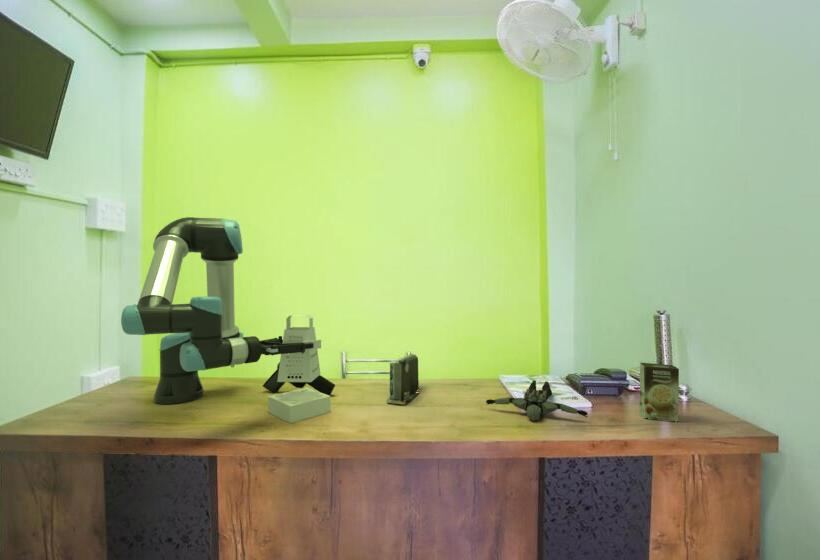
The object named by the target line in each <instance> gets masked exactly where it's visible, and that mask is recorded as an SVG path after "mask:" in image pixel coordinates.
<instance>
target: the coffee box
mask: <svg viewBox="0 0 820 560" xmlns="http://www.w3.org/2000/svg"><path fill="white" fill-rule="evenodd" d="M639 364H640V365H639V399H638V400H639V401H638V402H639V403H638V404H639V406H638V408H639V409H638V410H639V411H638V412H640V413H639V414H640V415H641V416H642V418H643V419H645V418H648V419H647V420H652V419H657V420H656V421H661V420H665V421H664V422H669V421H678V422H679V389H680V388H679V386H680V384H679V383H680V381H679V379H680V376H679V375H680V369H679V368H678V367H676V366H675V365H673V364H664V363H663V364H662V363H652V362H651V363H650V362H639Z"/></svg>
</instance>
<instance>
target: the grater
mask: <svg viewBox="0 0 820 560" xmlns="http://www.w3.org/2000/svg"><path fill="white" fill-rule="evenodd" d="M294 316H299V317H307V318H308V321H309V323H308V324H309V325H308V326H301V327H300V326H297V327H296V326H291V319H292V317H294ZM285 321H286V328H285V329H283V336H282V340H283V343H287V342H288V341H289V343H291V341H293V343H301V342H304V341H312V340H317V337H316V329H315V326H314V317H313V316H312V315H311V314H290V315H288V317H286V320H285ZM291 337H292V338H291ZM279 359H280V360H279V362H280V365H279V373H278V380H277V382H285V383H289V382H312V381H313V380H314V379H315V378H317V377H318V376H319V375H321V367H320V361H319V352H318V349H313V350H306V351H305V352H304V354H302V352H300V353H288V354H280V358H279ZM290 374H291V375H290ZM294 374H295V375H294ZM297 374H299V375H297ZM301 374H302V375H301ZM288 376H290V378H289V379H288ZM291 376H294V378H293V379H292V378H291ZM295 376H298V378H297V379H296V378H295ZM299 376H301V379H299Z"/></svg>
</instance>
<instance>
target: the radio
mask: <svg viewBox="0 0 820 560" xmlns="http://www.w3.org/2000/svg"><path fill="white" fill-rule="evenodd" d="M419 386H420V385H419V359H418V356H417V355H416V354H414V353H410V354H408V355H405V356H403V357H402V356H401V357H400V358H397V359H394V360H392V361H390V362H389V396H388V397H387V398H386V403H387V404H395V405H396V404H397V405H406V404H408V403H409V402H410V401H412V400H413V399H414V398H415V397H417V396H418V395H419V394H418V393H416V392H417V390H418V389H420V388H419Z"/></svg>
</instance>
